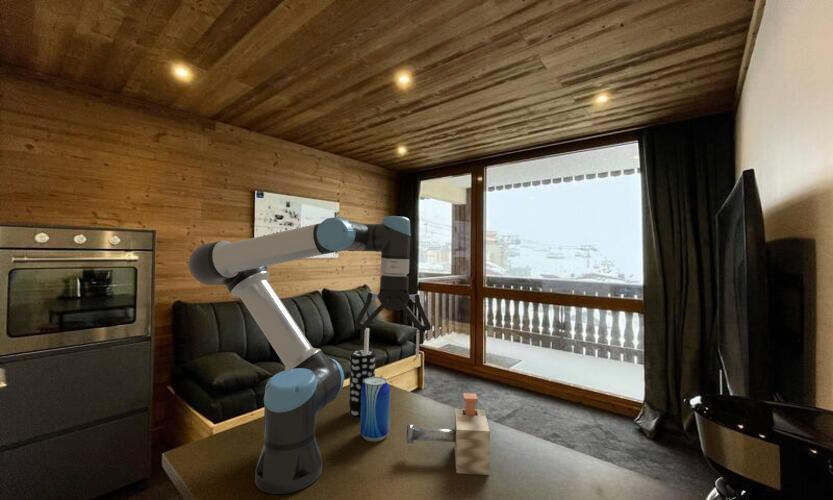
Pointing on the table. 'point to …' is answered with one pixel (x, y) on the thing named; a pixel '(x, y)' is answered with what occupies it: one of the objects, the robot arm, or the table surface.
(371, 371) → the spotted tube
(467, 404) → the plunger
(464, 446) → the block
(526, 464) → the table surface
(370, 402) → the beer can
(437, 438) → the pin
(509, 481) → the table surface
